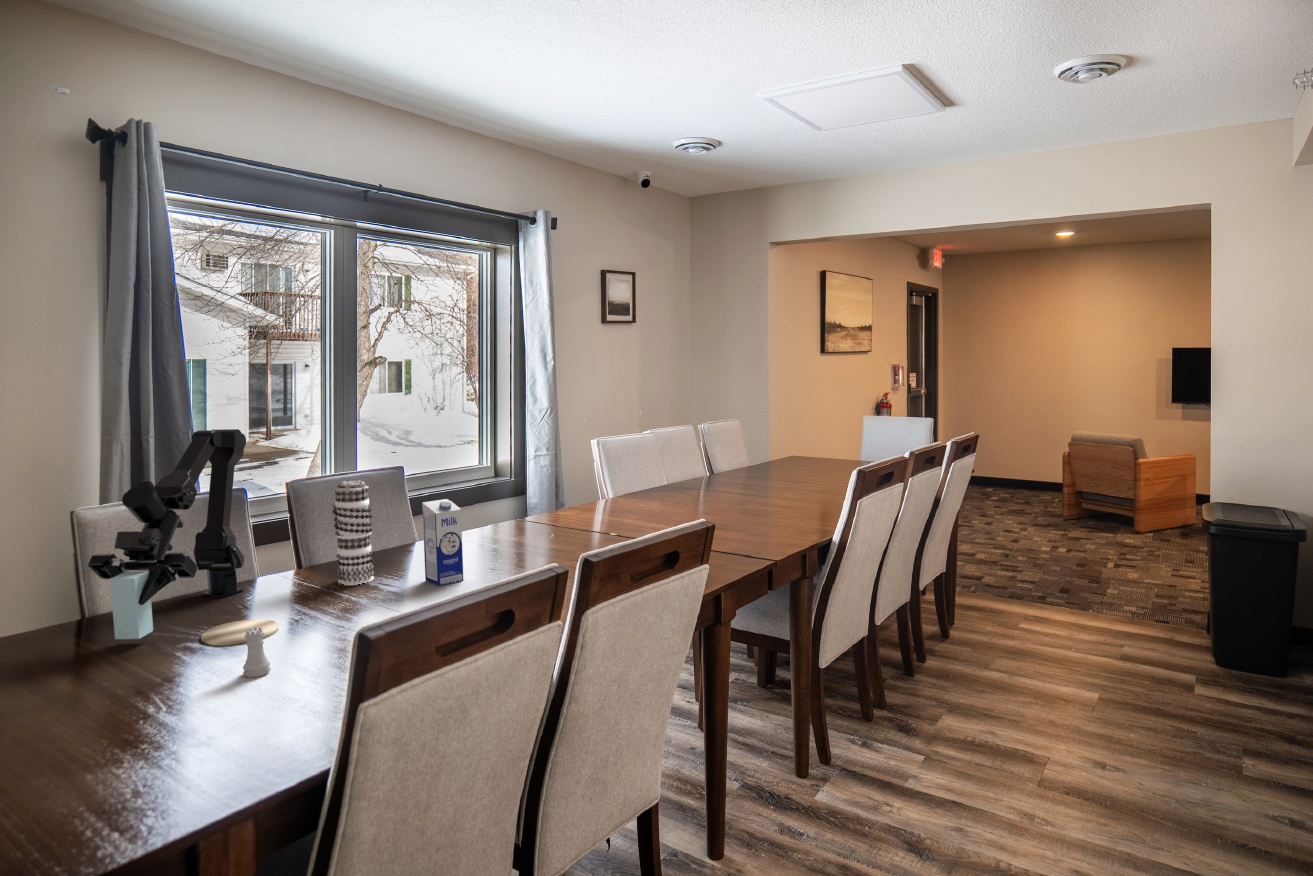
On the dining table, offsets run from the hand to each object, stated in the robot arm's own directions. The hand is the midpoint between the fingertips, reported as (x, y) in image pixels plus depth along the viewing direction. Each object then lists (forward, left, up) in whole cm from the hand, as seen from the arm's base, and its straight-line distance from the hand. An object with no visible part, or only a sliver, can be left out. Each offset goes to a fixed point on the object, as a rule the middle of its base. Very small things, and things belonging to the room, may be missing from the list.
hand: (127, 604), depth 157 cm
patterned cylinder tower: (+2, +53, -9) cm, 54 cm away
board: (+12, +15, -8) cm, 21 cm away
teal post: (-1, +1, -7) cm, 7 cm away
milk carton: (+22, +63, -9) cm, 67 cm away
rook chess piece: (+34, +3, -9) cm, 36 cm away
